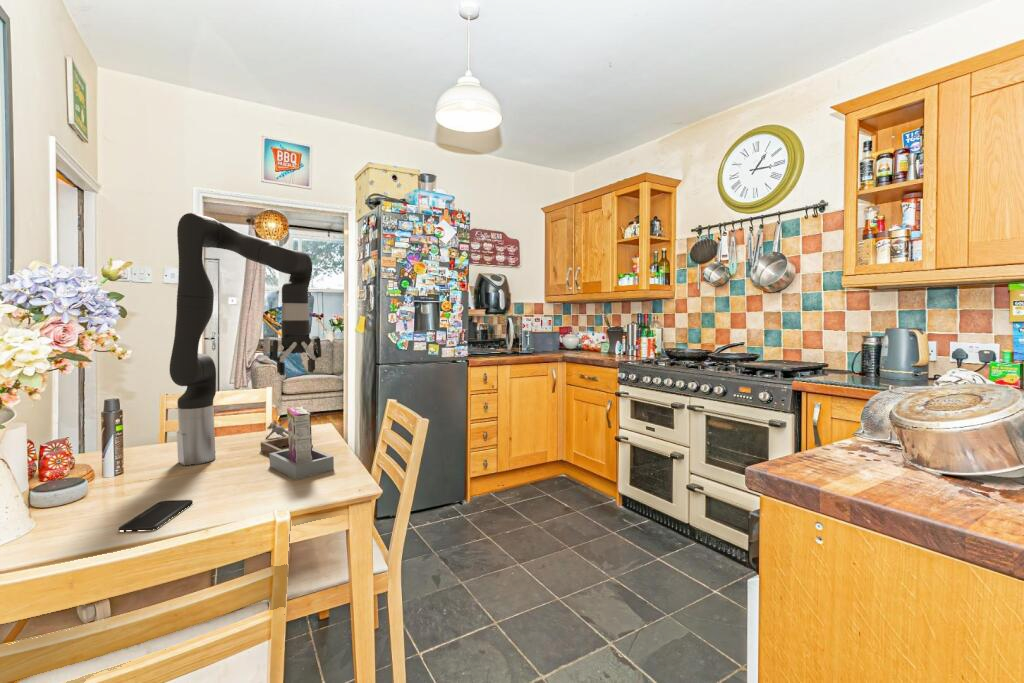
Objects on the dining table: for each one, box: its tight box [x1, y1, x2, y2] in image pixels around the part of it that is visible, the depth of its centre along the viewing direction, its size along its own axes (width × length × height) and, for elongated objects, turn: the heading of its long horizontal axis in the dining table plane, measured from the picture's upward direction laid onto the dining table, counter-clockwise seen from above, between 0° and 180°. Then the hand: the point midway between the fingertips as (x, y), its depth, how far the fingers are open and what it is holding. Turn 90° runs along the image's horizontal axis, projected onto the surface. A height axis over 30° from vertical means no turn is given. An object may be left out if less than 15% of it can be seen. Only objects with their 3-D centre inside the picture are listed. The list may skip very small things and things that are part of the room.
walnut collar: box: [260, 437, 314, 455], centre depth 158 cm, size 10×16×3 cm, turn 49°
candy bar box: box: [286, 406, 313, 464], centre depth 142 cm, size 11×5×16 cm, turn 34°
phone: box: [118, 499, 193, 531], centre depth 110 cm, size 8×1×15 cm
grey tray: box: [268, 447, 335, 480], centre depth 143 cm, size 11×17×4 cm, turn 49°
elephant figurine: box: [264, 417, 288, 440], centre depth 176 cm, size 10×6×9 cm
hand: (296, 373), depth 142 cm, fingers open, 8 cm apart
